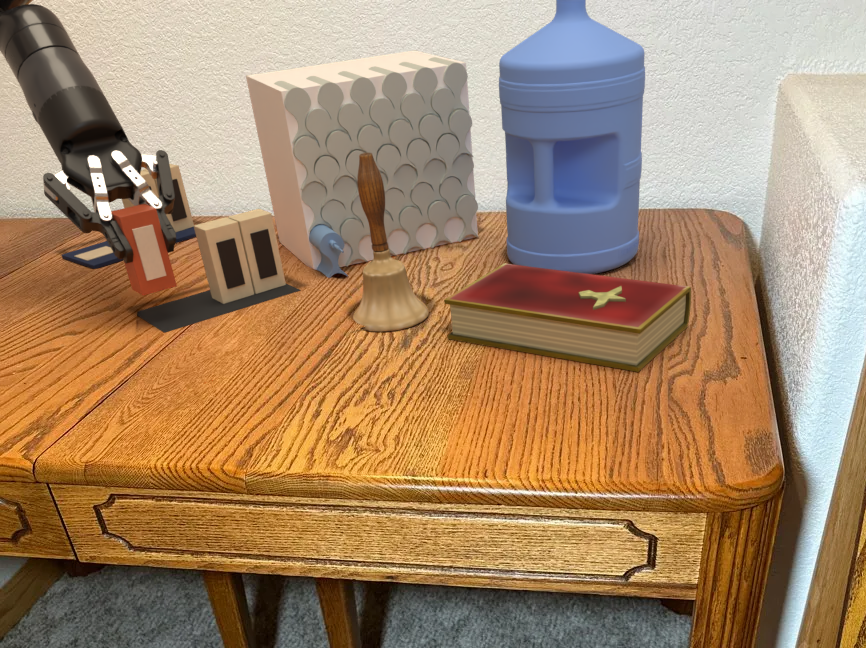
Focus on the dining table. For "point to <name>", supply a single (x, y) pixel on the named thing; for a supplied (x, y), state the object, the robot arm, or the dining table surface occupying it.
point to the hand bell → (383, 265)
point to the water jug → (573, 144)
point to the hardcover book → (570, 315)
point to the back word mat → (112, 256)
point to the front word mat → (229, 271)
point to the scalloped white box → (367, 133)
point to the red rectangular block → (145, 249)
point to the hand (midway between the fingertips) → (150, 252)
